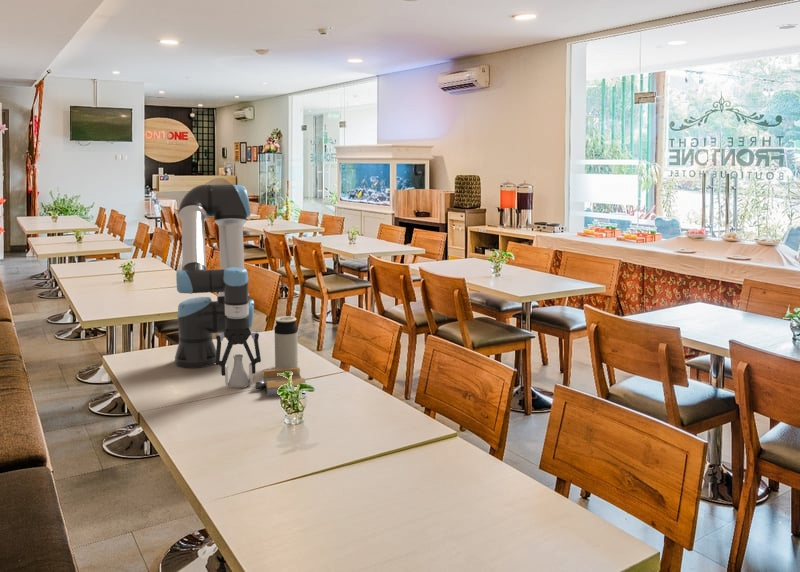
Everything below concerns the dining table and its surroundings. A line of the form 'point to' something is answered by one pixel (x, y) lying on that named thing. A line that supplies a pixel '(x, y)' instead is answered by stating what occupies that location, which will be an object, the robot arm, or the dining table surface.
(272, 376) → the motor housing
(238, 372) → the flask
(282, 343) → the travel mug
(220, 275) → the robot arm
